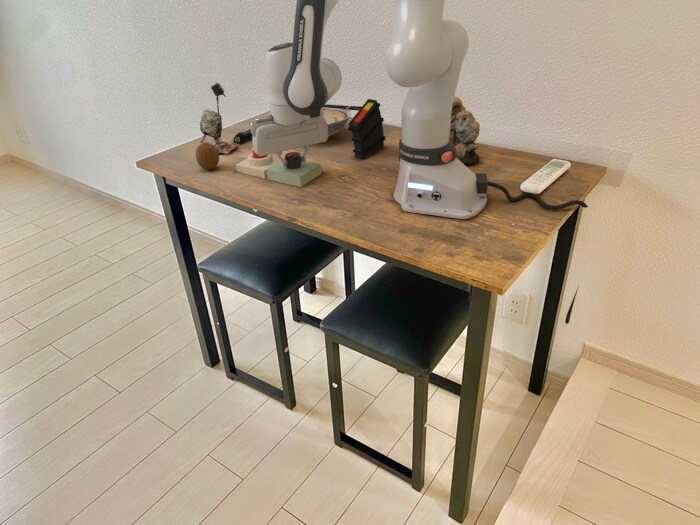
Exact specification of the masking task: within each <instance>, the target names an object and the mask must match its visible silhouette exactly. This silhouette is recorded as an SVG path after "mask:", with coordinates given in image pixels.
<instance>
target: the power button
mask: <svg viewBox="0 0 700 525" xmlns="http://www.w3.org/2000/svg"><path fill="white" fill-rule="evenodd" d="M252 153H253V157H254V158H264V157H266V155H264V156H259V155H258V154H256V153H255V152H254V150H253V149H252Z"/></svg>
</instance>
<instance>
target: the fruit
mask: <svg viewBox="0 0 700 525" xmlns="http://www.w3.org/2000/svg"><path fill="white" fill-rule="evenodd" d="M214 145H215V144H213V143H211V142H207V141H203V142H202V143H199V145H197V147H196V150H195V158H196V161H197V164H198V165H199V166H200V167H201V168H202V169H203V170H207V171H212V170H214V169H215V168H216V167H217V166H218V165H219V162H220V153H218V151H217V149H216V147H215V146H214Z"/></svg>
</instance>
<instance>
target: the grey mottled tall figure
mask: <svg viewBox="0 0 700 525" xmlns="http://www.w3.org/2000/svg"><path fill="white" fill-rule="evenodd" d="M210 89H211V90H212V92H213V95H214V96H215V97H216V104H217V105H216V107H217V111H213V110H211V109H207V107H205V108H204V110H203V111H202V113H201V116H200V122H199V130H200V132H201V133H202V139H200V141H199V142H200V143H199V144H203V143H204V141H205V139H206V137H207V136H208V137H209V138H213V140H214V143H215V144H213V145H214V146H215V147H216V149H217V151H218V154H222V153H223V154H230V153H231V152H232V151H233V150H236V149H238V146H236V145H235V146H233V145H231V144H229V142H228V141H221V139H222V131H223V121H222V115H221V114H220V108H219V96H224V97H225V98H226V97H227V96H226V95H225V89H224V87H222V85H221V84H220V83H219V82H215V84H212V85H211V86H210Z"/></svg>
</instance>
